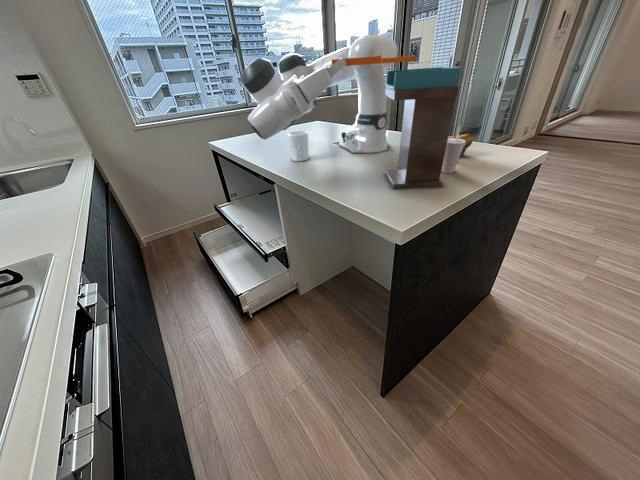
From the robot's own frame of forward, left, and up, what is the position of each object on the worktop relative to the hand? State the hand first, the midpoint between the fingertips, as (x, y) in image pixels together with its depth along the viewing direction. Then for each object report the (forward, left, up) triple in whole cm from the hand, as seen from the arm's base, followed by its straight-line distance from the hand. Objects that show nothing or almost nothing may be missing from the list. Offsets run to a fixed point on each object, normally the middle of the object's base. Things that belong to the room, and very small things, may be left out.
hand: (344, 60), depth 65 cm
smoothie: (+14, +32, -33) cm, 48 cm away
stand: (+11, +16, -32) cm, 38 cm away
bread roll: (+4, +46, -33) cm, 56 cm away
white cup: (-33, +2, -33) cm, 47 cm away
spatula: (+4, +6, -1) cm, 7 cm away
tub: (+11, +16, -7) cm, 20 cm away
